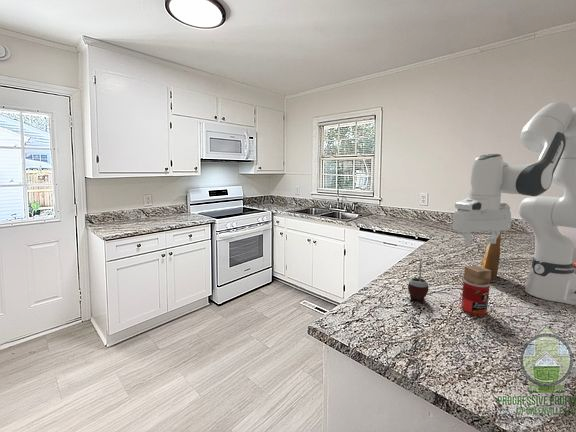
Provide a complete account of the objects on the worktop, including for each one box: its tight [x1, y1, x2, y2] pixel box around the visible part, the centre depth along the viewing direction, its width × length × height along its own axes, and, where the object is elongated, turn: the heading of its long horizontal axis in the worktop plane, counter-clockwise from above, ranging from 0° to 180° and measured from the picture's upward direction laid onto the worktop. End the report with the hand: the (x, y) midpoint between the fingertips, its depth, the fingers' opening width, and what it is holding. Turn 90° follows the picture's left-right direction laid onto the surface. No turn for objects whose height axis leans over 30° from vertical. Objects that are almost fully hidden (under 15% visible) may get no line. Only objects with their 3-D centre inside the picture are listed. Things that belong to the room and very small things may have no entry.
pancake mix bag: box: [480, 230, 503, 282], centre depth 136 cm, size 7×19×28 cm, turn 133°
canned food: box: [460, 278, 491, 317], centre depth 104 cm, size 8×8×11 cm
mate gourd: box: [407, 258, 429, 305], centre depth 113 cm, size 8×8×15 cm
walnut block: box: [463, 265, 491, 284], centre depth 103 cm, size 6×6×4 cm
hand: (480, 244), depth 102 cm, fingers open, 8 cm apart
